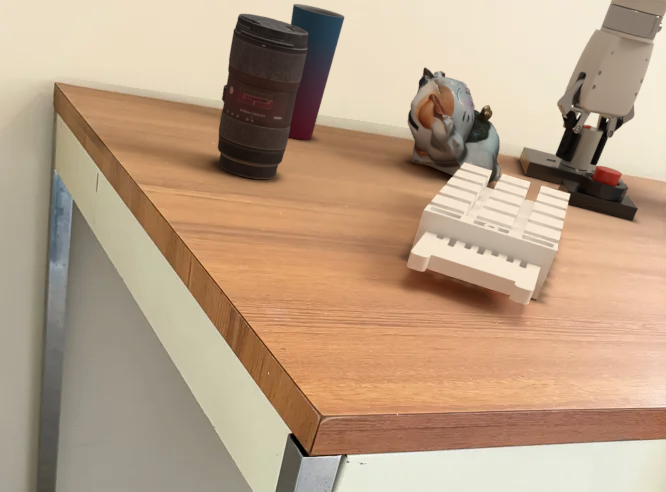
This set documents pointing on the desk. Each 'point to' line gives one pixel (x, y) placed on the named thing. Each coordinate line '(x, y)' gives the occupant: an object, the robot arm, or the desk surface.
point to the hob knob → (585, 148)
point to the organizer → (491, 233)
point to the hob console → (549, 167)
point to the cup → (313, 65)
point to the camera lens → (260, 95)
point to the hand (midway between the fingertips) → (576, 159)
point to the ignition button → (607, 175)
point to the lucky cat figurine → (451, 127)
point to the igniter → (599, 196)
